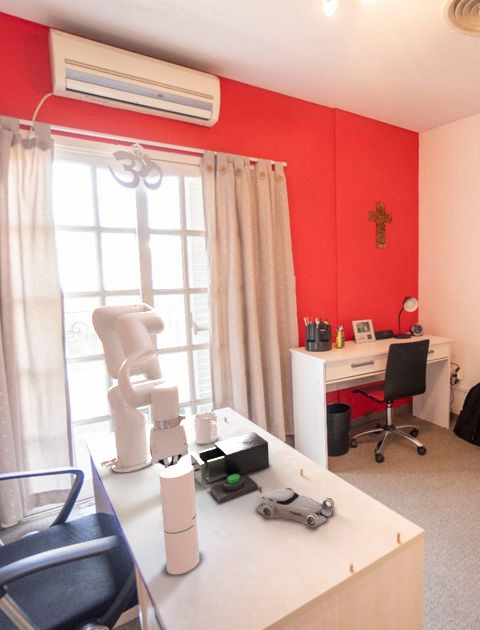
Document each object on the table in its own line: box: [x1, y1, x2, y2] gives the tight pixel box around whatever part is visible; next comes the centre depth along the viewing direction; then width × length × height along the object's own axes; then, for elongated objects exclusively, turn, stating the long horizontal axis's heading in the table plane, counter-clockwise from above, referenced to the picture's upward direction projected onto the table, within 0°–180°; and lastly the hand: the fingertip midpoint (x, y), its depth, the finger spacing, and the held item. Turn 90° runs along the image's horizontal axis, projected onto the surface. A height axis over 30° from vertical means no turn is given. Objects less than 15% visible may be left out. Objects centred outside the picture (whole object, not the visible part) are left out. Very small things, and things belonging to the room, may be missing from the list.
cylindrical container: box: [158, 462, 200, 575], centre depth 103 cm, size 7×7×25 cm
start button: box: [228, 474, 240, 484], centre depth 138 cm, size 4×4×2 cm
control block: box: [210, 474, 259, 504], centre depth 138 cm, size 12×9×4 cm
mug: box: [193, 411, 220, 445], centre depth 175 cm, size 12×9×11 cm
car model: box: [256, 487, 335, 528], centre depth 127 cm, size 11×24×5 cm, turn 71°
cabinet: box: [214, 431, 270, 479], centre depth 153 cm, size 15×13×10 cm
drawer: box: [190, 446, 227, 487], centre depth 146 cm, size 18×11×8 cm, turn 134°
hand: (171, 475), depth 137 cm, fingers closed
